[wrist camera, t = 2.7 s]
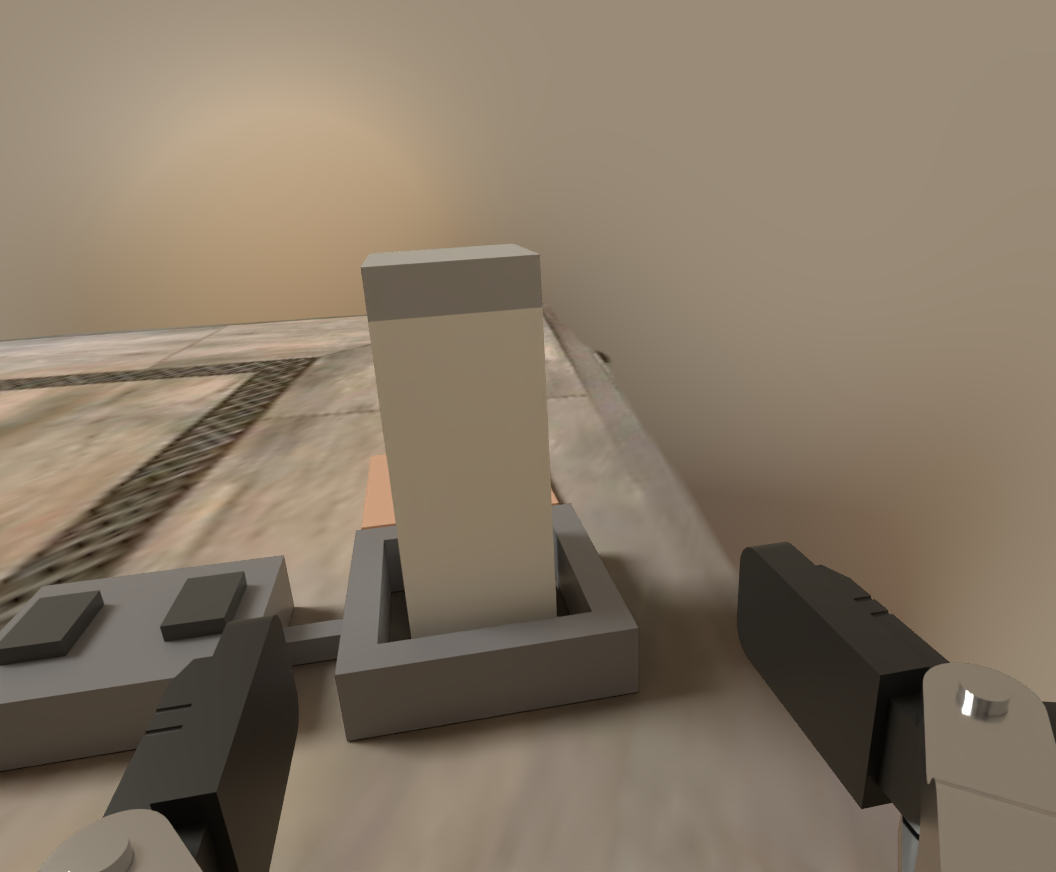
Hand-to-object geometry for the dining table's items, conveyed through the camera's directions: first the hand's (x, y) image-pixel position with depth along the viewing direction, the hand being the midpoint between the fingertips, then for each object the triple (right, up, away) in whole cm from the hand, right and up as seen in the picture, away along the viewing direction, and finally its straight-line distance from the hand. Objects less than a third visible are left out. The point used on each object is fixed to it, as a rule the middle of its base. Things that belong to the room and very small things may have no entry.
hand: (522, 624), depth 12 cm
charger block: (-2, -4, +14) cm, 15 cm away
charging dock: (-7, -5, +13) cm, 16 cm away
